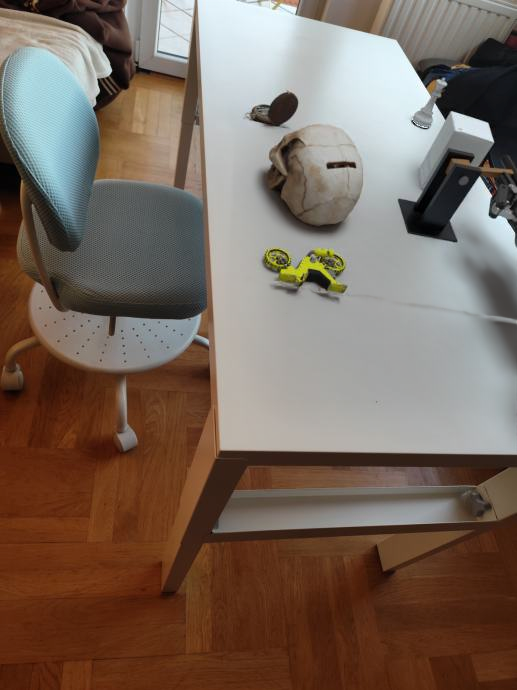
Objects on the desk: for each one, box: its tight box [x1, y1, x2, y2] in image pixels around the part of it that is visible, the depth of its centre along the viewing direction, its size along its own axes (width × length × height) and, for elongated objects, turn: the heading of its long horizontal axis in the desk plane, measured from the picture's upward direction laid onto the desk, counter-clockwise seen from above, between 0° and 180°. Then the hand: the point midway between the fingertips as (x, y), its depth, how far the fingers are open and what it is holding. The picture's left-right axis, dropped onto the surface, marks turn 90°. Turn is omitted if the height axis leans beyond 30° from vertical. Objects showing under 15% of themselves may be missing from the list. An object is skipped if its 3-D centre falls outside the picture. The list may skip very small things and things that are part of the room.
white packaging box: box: [418, 110, 495, 191], centre depth 87 cm, size 7×7×13 cm
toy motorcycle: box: [263, 247, 349, 294], centre depth 67 cm, size 12×4×7 cm
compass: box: [244, 89, 299, 127], centre depth 90 cm, size 8×8×7 cm
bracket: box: [397, 148, 482, 244], centre depth 79 cm, size 9×9×13 cm
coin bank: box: [266, 123, 364, 227], centre depth 76 cm, size 16×17×13 cm
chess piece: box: [412, 77, 448, 127], centre depth 104 cm, size 4×4×10 cm
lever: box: [446, 154, 517, 187], centre depth 76 cm, size 11×9×2 cm
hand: (510, 179), depth 76 cm, fingers open, 3 cm apart
